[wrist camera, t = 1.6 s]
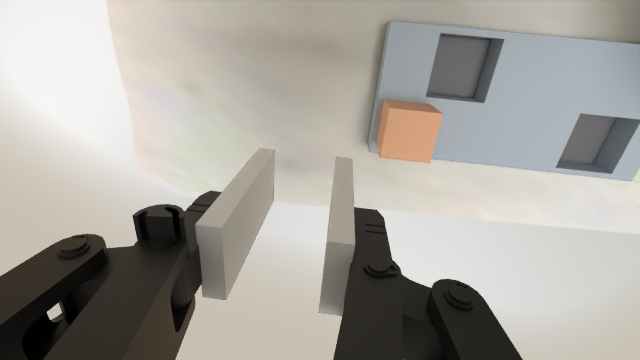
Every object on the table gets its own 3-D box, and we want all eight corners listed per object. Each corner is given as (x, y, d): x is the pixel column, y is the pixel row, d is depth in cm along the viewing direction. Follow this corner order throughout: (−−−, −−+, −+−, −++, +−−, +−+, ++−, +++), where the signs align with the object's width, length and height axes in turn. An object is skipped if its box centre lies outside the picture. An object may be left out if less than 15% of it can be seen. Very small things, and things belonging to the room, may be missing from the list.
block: (376, 142, 28) (380, 157, 24) (383, 99, 26) (389, 108, 23) (419, 147, 28) (429, 163, 24) (429, 103, 26) (443, 113, 22)
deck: (367, 143, 31) (370, 161, 26) (387, 22, 26) (395, 18, 21) (673, 177, 29) (732, 202, 25) (751, 57, 25) (842, 60, 20)
